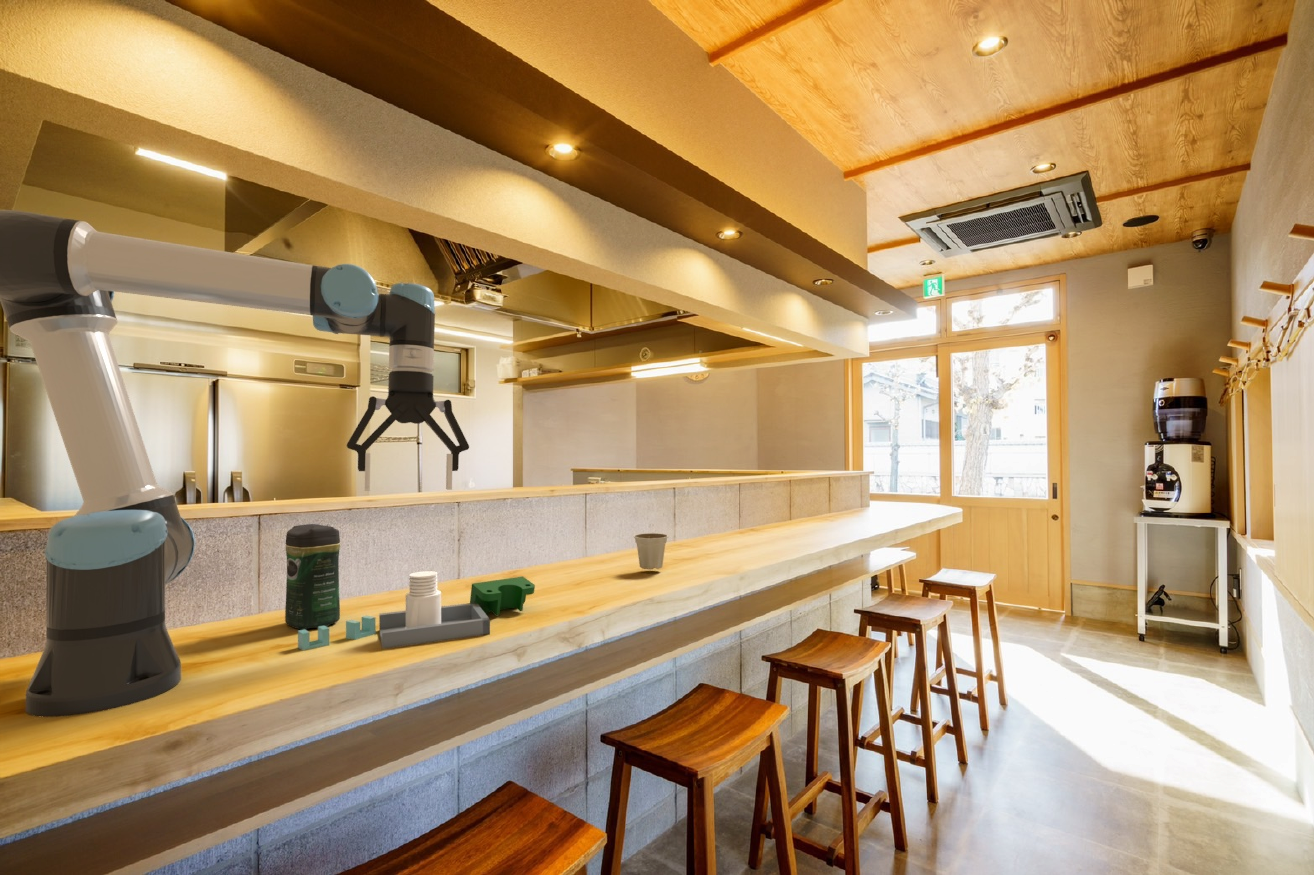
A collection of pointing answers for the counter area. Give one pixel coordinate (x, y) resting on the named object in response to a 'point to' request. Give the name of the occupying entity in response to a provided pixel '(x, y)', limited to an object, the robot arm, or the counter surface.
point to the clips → (351, 633)
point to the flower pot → (651, 549)
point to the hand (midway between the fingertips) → (409, 490)
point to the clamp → (501, 594)
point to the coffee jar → (312, 576)
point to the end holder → (434, 626)
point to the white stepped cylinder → (423, 600)
